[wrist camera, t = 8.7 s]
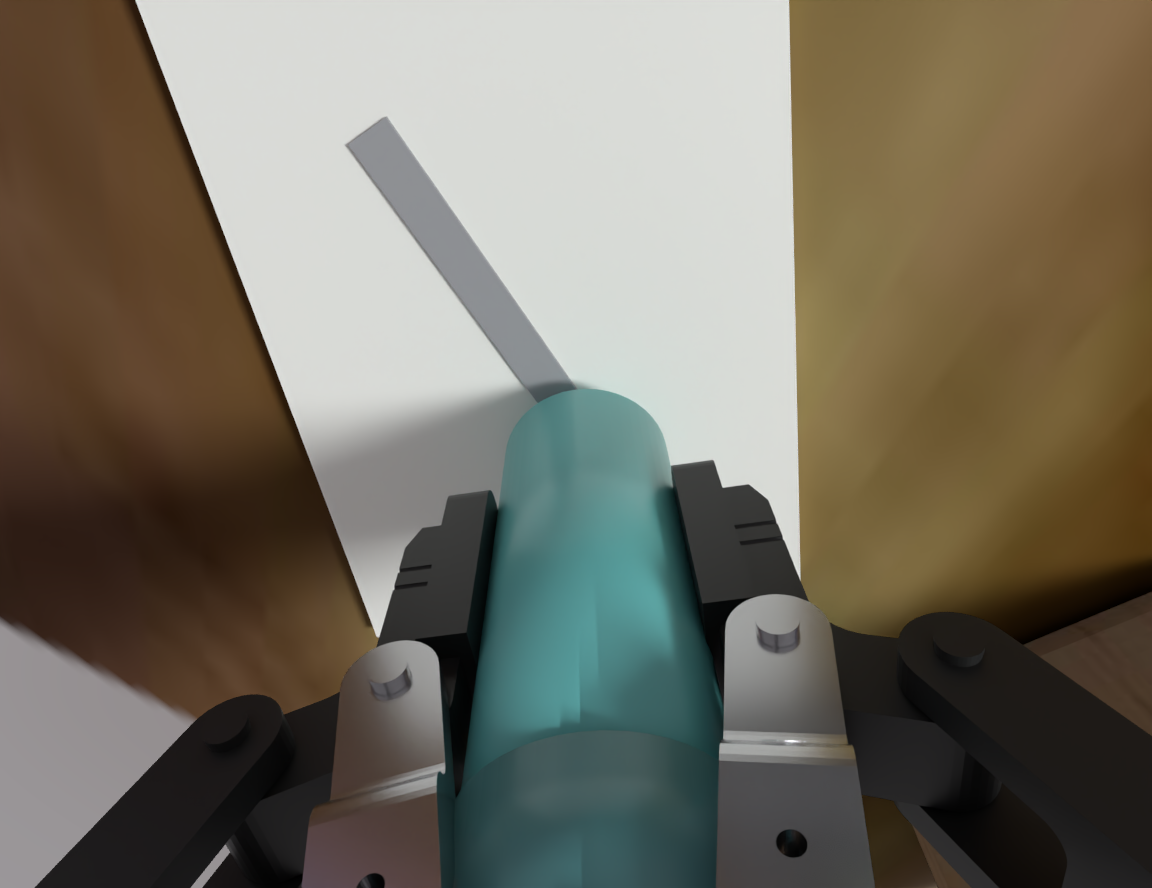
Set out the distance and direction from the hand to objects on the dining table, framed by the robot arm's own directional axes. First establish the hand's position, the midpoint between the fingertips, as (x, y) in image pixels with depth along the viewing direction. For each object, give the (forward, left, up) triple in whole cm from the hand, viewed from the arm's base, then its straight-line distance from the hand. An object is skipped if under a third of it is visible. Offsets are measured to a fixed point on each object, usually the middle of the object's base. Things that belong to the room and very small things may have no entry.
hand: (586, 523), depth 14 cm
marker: (0, 0, -2) cm, 2 cm away
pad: (-3, -1, -3) cm, 5 cm away
